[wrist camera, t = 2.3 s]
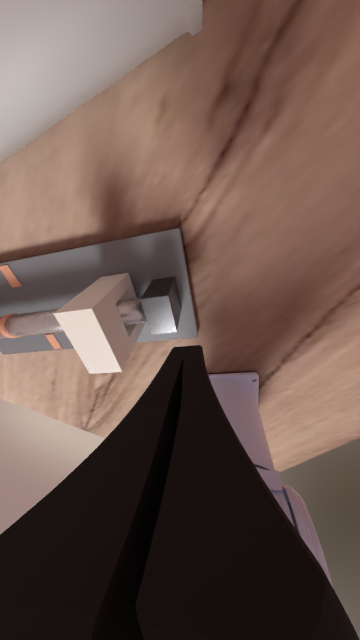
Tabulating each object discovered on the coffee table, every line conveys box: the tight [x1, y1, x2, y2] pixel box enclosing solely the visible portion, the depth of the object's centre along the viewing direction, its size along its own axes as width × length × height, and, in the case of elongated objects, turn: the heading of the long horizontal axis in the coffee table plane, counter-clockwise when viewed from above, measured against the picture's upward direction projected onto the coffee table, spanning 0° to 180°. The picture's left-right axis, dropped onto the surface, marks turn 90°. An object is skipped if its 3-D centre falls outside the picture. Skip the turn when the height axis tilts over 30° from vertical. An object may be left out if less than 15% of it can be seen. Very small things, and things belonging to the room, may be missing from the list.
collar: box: [53, 273, 145, 374], centre depth 15 cm, size 5×2×6 cm, turn 11°
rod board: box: [0, 227, 198, 354], centre depth 17 cm, size 10×24×5 cm, turn 101°
